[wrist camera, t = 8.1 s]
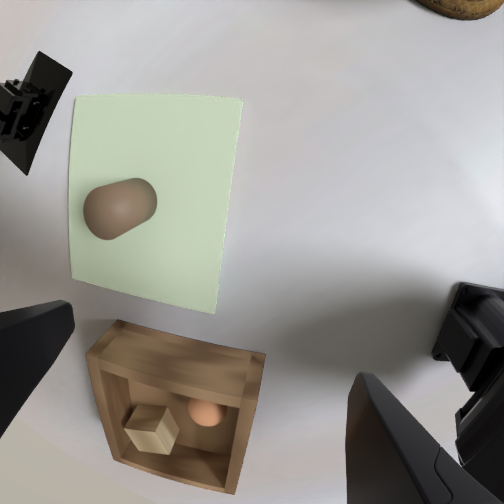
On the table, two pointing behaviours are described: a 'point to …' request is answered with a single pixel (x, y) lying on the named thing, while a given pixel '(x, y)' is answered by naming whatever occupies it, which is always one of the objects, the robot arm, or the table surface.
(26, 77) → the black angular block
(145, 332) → the walnut box
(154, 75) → the table surface
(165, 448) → the beech block
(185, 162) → the lid
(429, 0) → the owl figurine
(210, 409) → the terracotta ball
